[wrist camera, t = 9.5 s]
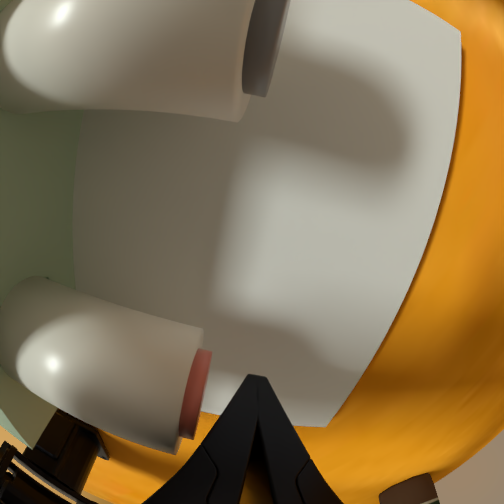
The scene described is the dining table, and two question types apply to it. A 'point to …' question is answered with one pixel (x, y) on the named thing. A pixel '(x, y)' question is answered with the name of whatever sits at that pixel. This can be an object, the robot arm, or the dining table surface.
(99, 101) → the knob
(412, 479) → the beer bottle
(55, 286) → the knob
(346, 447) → the dining table surface
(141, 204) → the mount
